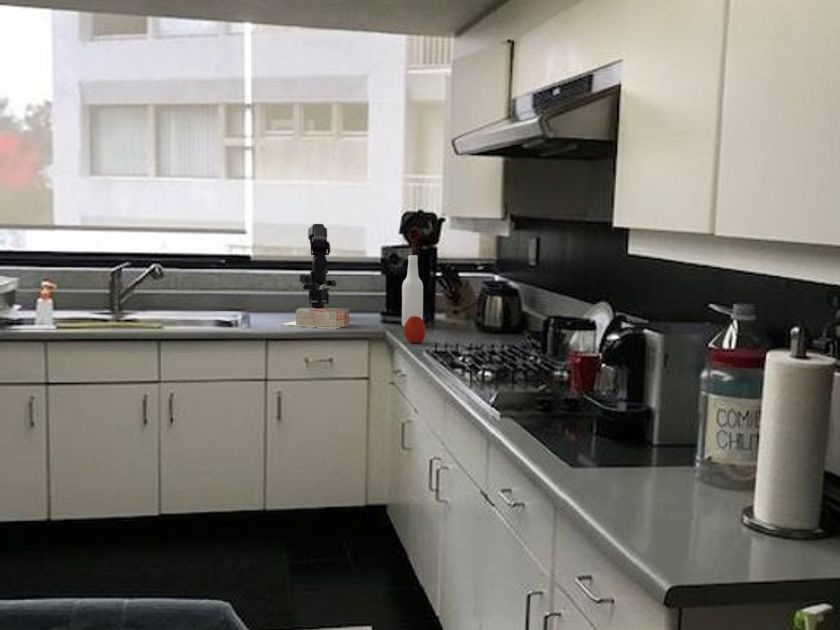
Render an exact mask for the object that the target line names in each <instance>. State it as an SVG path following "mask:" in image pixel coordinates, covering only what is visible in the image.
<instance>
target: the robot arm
mask: <svg viewBox="0 0 840 630" xmlns="http://www.w3.org/2000/svg"><path fill="white" fill-rule="evenodd" d="M311 225H312V226H310V227H309V228H308V230H307V238H308V240H309V244H310V256H312V270H310V274H308V275H306V274H305V273H303V274H300V275H299V282H300V283H301V284H302V290H306V291H307V290H308V305H310V304H311V307H310V308H320V309H321V308H325V304H327V305H328V304H330V293H329V290H330V289H331V288H329V287H332V288H334V287H337V281H336V280H335V279H330V278H329V279H328V278H327V274H328V273H329V270H327V267H328V261H327V260H328V259H327V256H330V254H331V244H330V241H328V228H327V227H326V226H325V225H324V224H322V223H314V224H311ZM327 286H329V287H327Z"/></svg>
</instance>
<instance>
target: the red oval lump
mask: <svg viewBox="0 0 840 630" xmlns="http://www.w3.org/2000/svg"><path fill="white" fill-rule="evenodd" d="M423 320H424V319H423ZM423 320H422V319H421V318H420V317H417V316H411V317H410V318H409V319H408V320H407V322H406V323H405V326H404V327H403V330H402V331H403V335H404V337H405V339H406V341H407V342H409V343H413V344H421V343H423V341H424V339H425V337H426V324H425V323H424V321H423Z"/></svg>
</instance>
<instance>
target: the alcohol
mask: <svg viewBox="0 0 840 630" xmlns="http://www.w3.org/2000/svg"><path fill="white" fill-rule="evenodd" d="M407 257H408V258H407V259H408V261H407V263H408V265H407V275H406V278H404V280H403V281H402V285H401V297H402V298H401V304H402V305H401V325H402V327H403V328H404V326H405V323H406V322H407V320H408V319H409V318H410V317H411V316H417V317H420V318H421V319H422V320H424V318H423V317H424V316H423V315H424V284H423V281H422V280H421V278H420V276H419V268H418V267H419V265H418V264H419V263H418V259H419V258H418V257H419V256H418V255H417V254H416V255H415V254H414V255H413V254H411V255H408V256H407Z"/></svg>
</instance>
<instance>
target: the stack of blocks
mask: <svg viewBox="0 0 840 630" xmlns="http://www.w3.org/2000/svg"><path fill="white" fill-rule="evenodd" d="M295 321H296V325H315V326H330V327H342V328H345V327H347V326H346V325H349V324H350V308H331V307H330V308H326V307H324V308H321V309H320V308H311V307H299V308H297V309H296V310H295Z"/></svg>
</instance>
